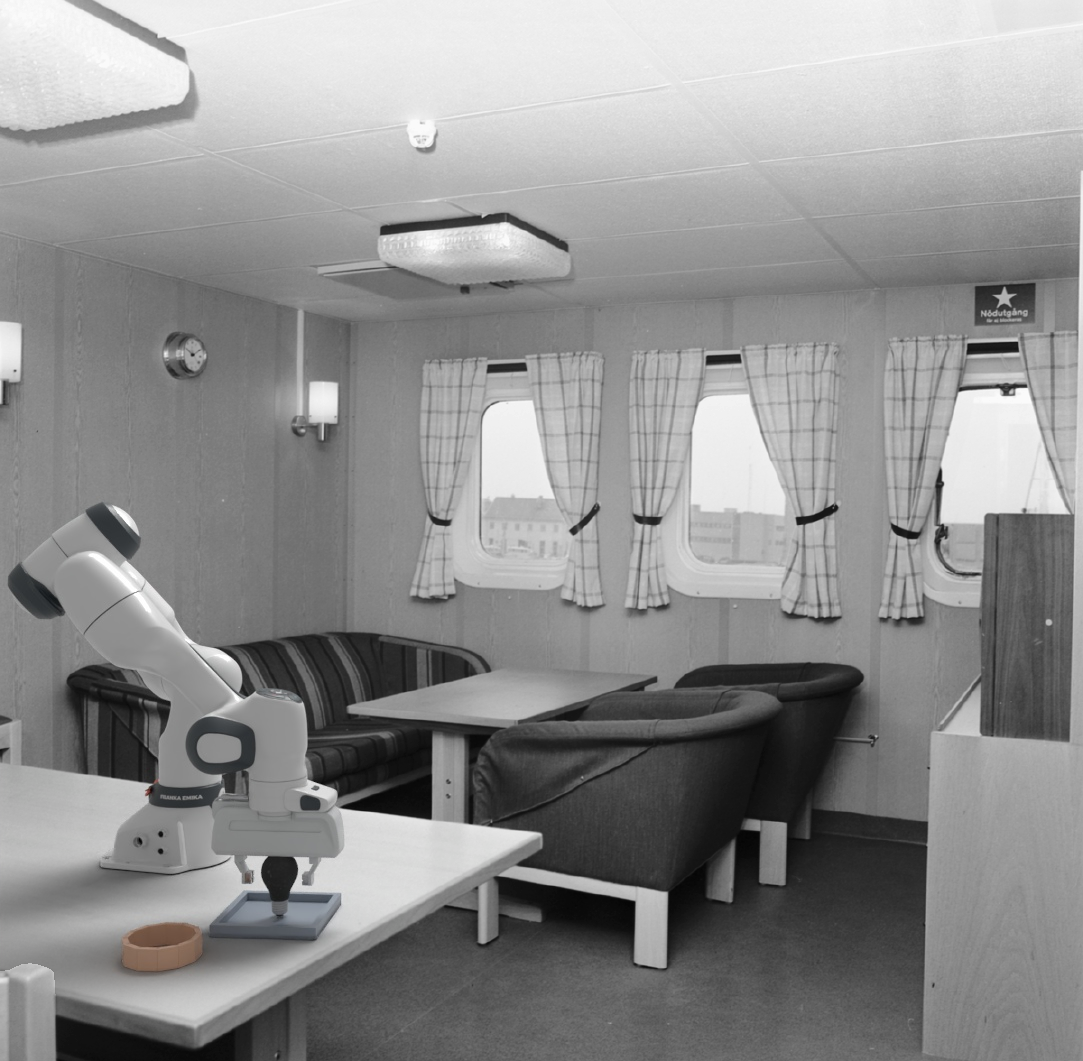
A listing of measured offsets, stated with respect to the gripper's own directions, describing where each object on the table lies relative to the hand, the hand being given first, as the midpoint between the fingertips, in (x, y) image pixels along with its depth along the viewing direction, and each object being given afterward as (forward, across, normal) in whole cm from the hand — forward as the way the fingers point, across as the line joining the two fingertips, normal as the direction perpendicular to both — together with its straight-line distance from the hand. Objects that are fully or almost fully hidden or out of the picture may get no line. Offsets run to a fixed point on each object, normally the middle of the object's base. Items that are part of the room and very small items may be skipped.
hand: (277, 883), depth 181 cm
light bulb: (+5, 0, 0) cm, 5 cm away
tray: (+6, 0, 0) cm, 6 cm away
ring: (+6, -12, -16) cm, 21 cm away
